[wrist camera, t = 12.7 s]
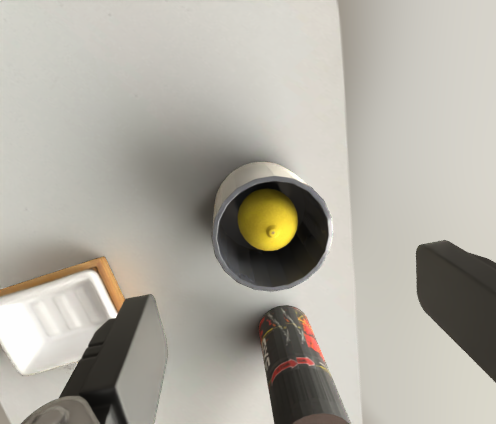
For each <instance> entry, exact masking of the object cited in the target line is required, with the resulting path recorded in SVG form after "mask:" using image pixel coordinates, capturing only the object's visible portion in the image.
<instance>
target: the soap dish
mask: <svg viewBox="0 0 496 424" xmlns="http://www.w3.org/2000/svg"><path fill="white" fill-rule="evenodd" d="M124 300H125V299H124V297H123V295H122V292H121V290H120V288H119V286H118V284H117V282H116V279H115V277H114V275H113V273H112V271H111V269H110V267H109V265H108V262H107V260H106V258H105V257H100V258H96V259H93V260H90V261H87V262H84V263H81V264H78V265H75V266H72V267H69V268H65V269H62V270H59V271H56V272H53V273H50V274H47V275H44V276H41V277H38V278H35V279H31V280H28V281H25V282H22V283H19V284H16V285H13V286H10V287H7V288H4V289H1V290H0V345H1V347H2V348H3V350H4V352H5V353H6V355H7V357H8V358H9V360H10V361H11V363H12V364H13V366H14V367H15V369H16V370H17V371H18V373H19V374H21V375H22V376H29V375H33V374H37V373H40V372H44V371H47V370H50V369H53V368H57V367H60V366H63V365H67V364H70V363H73V362H76V361H80V359H82V355H83V353H84V352H85V350H86V348H88V344H89V342H90V341H91V339H92V337H93V335H94V333H95V332H96V331H97V330H98V329H99V328H100V327H101V326H102V325H103V324H104V323H105V322H106V321H107V320H108V319H112V318H116V316H117V314H118V312H119V310H120V308H121V306H122V304H123V302H124Z"/></svg>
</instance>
